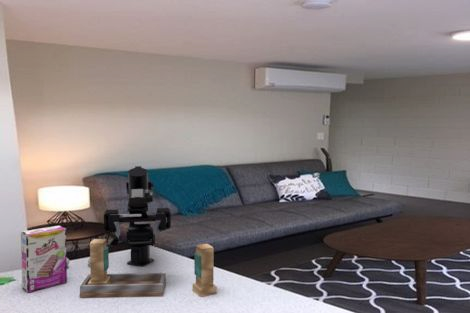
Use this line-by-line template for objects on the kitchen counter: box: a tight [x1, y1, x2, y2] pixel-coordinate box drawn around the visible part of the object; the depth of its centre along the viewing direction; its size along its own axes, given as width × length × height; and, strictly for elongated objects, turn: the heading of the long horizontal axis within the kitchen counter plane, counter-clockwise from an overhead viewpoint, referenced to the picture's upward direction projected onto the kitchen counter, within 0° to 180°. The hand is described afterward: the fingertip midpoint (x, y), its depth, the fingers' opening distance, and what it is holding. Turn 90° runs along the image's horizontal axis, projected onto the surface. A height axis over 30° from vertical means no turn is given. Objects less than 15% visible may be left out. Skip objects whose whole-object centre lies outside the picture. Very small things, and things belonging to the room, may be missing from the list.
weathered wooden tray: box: [79, 238, 167, 299], centre depth 121 cm, size 22×10×14 cm, turn 94°
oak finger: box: [192, 243, 218, 298], centre depth 120 cm, size 5×5×13 cm
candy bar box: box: [20, 225, 68, 293], centre depth 123 cm, size 11×5×16 cm, turn 134°
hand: (137, 237), depth 118 cm, fingers open, 9 cm apart
